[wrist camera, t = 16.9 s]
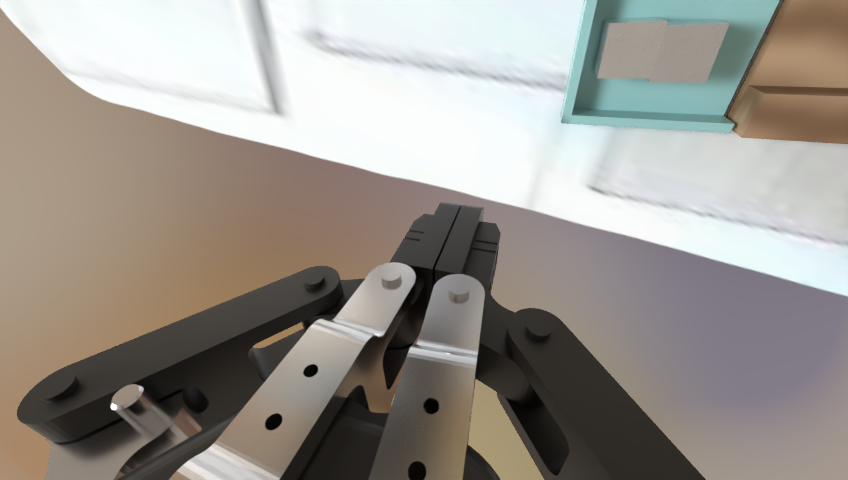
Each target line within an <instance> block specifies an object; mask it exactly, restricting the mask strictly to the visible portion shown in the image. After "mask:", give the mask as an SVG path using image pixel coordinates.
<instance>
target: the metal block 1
mask: <svg viewBox="0 0 848 480" xmlns="http://www.w3.org/2000/svg"><path fill="white" fill-rule="evenodd" d="M667 23H668V21H667V20H664V19H661V18H657V17H648V18H627V19H605V20H604V22H603V27H602V31H601V36H600V41H599V45H598V50H597V55H596V59H595V64H594V69H593V70H594V72H595V75H596V77H597V79H622V78H651V75H652V71H653V68H654V65H655V62H656V58H657V55H658V52H659V49H660V45H661V42H662V39H663V36H664V32H665V29H666V26H667Z"/></svg>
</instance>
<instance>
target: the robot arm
mask: <svg viewBox="0 0 848 480" xmlns="http://www.w3.org/2000/svg"><path fill="white" fill-rule="evenodd" d="M483 214H484V208H483V207H475V206H467V205H459V204H451V203H443V202H441V203H440V204H439V206H438V208H437V210H436V212H435V214H434V215H429V214H424V215H422V216H421V217H420V218H418V219H417V220H415V221H414V223H413V224H412V226H411V228H410V229H409V231H408V233H407V234H406V236H405V239H403V241H402V243H401V244H400V246H399V248H398V249H397V251H396V253H395V254H394V256H393V257H392V259H391V261H390V262H389V263H386V264H382V265H380V266H378V267H376V268H374V269H373V270H372V271H371V272H370V273H369V275H368V276H367V277H366V278H365V279H354V280H340V277H339V274H338V272H337V271H336V270H335V269H333V268H331V267H328V266H315V267H311V268H308V269H305V270H303V271H300V272H298V273H295V274H293V275H290V276H288V277H285V278H283V279H280V280H278V281H276V282H273V283H271V284H268V285H266V286H263V287H261V288H258V289H256V290H253V291H251V292H248V293H246V294H244V295H241V296H239V297H236V298H234V299H231V300H229V301H226V302H224V303H221V304H219V305H216V306H214V307H211V308H209V309H207V310H204V311H202V312H199V313H197V314H194V315H192V316H189V317H187V318H184V319H182V320H179V321H177V322H175V323H172V324H170V325H167V326H165V327H162V328H160V329H157V330H155V331H152V332H150V333H147V334H145V335H142V336H140V337H138V338H135V339H133V340H130V341H128V342H125V343H123V344H120V345H118V346H115V347H113V348H111V349H108V350H105V351H103V352H101V353H98V354H96V355H93V356H91V357H88V358H86V359H84V360H81V361H79V362H76V363H74V364H71V365H68V366H66V367H64V368H62V369H60V370H58V371H56V372H54V373H53V374H51V375H49V376H48V377H46V378H45V379H43V380H42V381H41V382H39V383H38V384H37V385H36V386H35V387H34V388H33V389H32V390H30V391H29V393H27V395H26V396H25V397H24V398H23V400H22V401H21V403H20V405H19V407H18V410H17V417H18V419H19V420H20V421H21V422H22V423H24V424H25V425H27V426H28V427H30V428H31V429H33V430H34V431H36V432H38V433H39V434H41V435H42V436H44V437H45V438H46V440H47V441H48V442H49V443H50V444H51V452H50V458H49V462H48V467H47V472H46V477H45V480H500V478H499V476H498V475H497V474H496V472H495V471H494V470H493V468H492V467H491V466H490V464H488V462H487V461H486V460H485V459H484V458H483V457H482V456H481V455H480V454H479V453H477V452H476V451H475V450H474V449H473V448H472V447H470V446H469V445H468V440H469V432H470V422H471V414H472V405H473V397H474V388H475V380H476V379H477V380H479V381H481V382H482V383H484V384H485V385H487V386H488V387H490V388H492V389H493V390H495V391H496V392H497V396H498V399H499V401H500V403H501V405H502V406H503V408H504V410H505V411H506V413H507V415H508V417H509V418H510V420H511V422H512V424H513V426H514V427H515V429H516V431H517V433H518V434H519V436H520V438H521V440H522V441H523V443H524V445H525V447H526V448H527V450H528V452H529V453H530V455H531V457H532V459H533V460H534V462H535V464H536V466H537V467H538V469H539V471H540V473H541V474H542V476H543V478H544V480H706V479H705V478H704V477H703V476H702V475H701V474H700V473H699V472H698V471H697V469H696V468H695V467H694V466H693V465H692V464H691V463H690V462H689V461H688V460H687V458H685V456H684V455H683V454H682V453H681V452H680V451H679V450H678V449H677V447H676V446H675V445H674V444H673V443H672V442H671V441H670V440H669V439H668V438H667V436H666V435H665V434H664V433H663V432H662V431H661V430H660V429H659V428H658V427H657V425H656V424H655V423H654V422H653V421H652V420H651V419H650V418H649V417H648V416H647V415H646V413H645V412H644V411H643V410H642V409H641V408H640V407H639V406H638V405H637V403H636V402H635V401H634V400H633V399H632V398H631V397H630V396H629V395H628V394H627V392H626V391H625V390H624V389H623V388H622V387H621V386H620V385H619V384H618V383H617V381H615V379H614V378H613V377H612V376H611V375H610V374H609V373H608V372H607V370H606V369H604V367H603V366H602V365H601V364H600V363H599V362H598V361H597V360H596V359H595V357H594V356H593V355H592V354H591V353H590V352H589V351H588V350H587V348H585V346H584V345H583V344H582V343H581V342H580V341H579V340H578V339H577V337H576V336H575V335H574V334H573V333H572V332H571V331H570V330H569V329H568V328H567V326H566V325H565V324H564V323H563V322H562V321H561V320H560V319H559V318H557V317H556V316H555V315H553V314H551V313H549V312H547V311H544V310H541V309H535V308H528V309H522V310H519V311H517V312H516V313H514V312H512V311H510V310H507V309H506V308H504V307H502V306H501V305H499V304H498V303H497V302H496V301H495V300H494V299H493V297H492V296H491V289H492V284H493V279H494V275H495V270H496V264H497V255H498V248H499V240H500V232H499V229H498V227H497V225H496V224H494V223H487V222H483ZM300 322H302V325H303V327H304V329H302V330H299V331H297V332H296V333H293V334H291V335H289V336H287V337H285V338H283V339H281V340H279V341H277V342H275V343H273V344H271V345H268V346H266V347H264V348H253V346H254V345H255V344H256V343H258V342H260V341H262V340H264V339H267V338H269V337H271V336H273V335H275V334H277V333H279V332H281V331H283V330H285V329H288V328H290V327H292V326H294V325H296V324H298V323H300ZM394 395H395V396H394ZM393 398H394V399H393ZM392 401H393V402H392ZM391 405H392V406H391Z"/></svg>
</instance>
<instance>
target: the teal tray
mask: <svg viewBox="0 0 848 480" xmlns="http://www.w3.org/2000/svg"><path fill="white" fill-rule="evenodd" d="M779 1H780V0H584V3H583V8H582V13H581V18H580V23H579V28H578V32H577V37H576V42H575V47H574V52H573V57H572V62H571V67H570V72H569V76H568V81H567V86H566V91H565V96H564V101H563V106H562V111H561V123H567V124H584V125H601V126H618V127H635V128H652V129H668V130H685V131H702V132H719V133H730V132H731V130H732V128H733V126H734V123H733V122H731V121H730V120H729V119H727V118H726V117H725V116H724V114H725V112H726V110H727V107H728V105H729V103H730V101H731V99H732V97H733V95H734V93H735V91H736V89H737V87H738V85H739V83H740V81H741V79H742V77H743V75H744V73H745V71H746V68H747V66H748V64H749V62H750V60H751V58H752V56H753V54H754V52H755V50H756V48H757V46H758V44H759V42H760V40H761V38H762V36H763V34H764V32H765V29H766V27H767V25H768V23H769V21H770V19H771V17H772V15H773V13H774V11H775V9H776V7H777V5H778V3H779ZM648 17H657V18H661V19H664V20H667V21H678V20H701V19H712V20H717V21H722V22H727V23H730V24H729V26H728V29H727V31H726V34H725V36H724V39H723V41H722V44H721V46H720V49H719V51H718V54H717V56H716V59H715V61H714V64H713V66H712V69H711V71H710V74H709V76H708V79H707V81H706V83H649V82H648V81H647V80H646V79H645V78H622V79H597V77H596V75H595V72H594V70H593V69H594V64H595V59H596V55H597V50H598V45H599V41H600V36H601V31H602V27H603V22H604V20H605V19H627V18H648Z"/></svg>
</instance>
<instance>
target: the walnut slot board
mask: <svg viewBox="0 0 848 480" xmlns="http://www.w3.org/2000/svg"><path fill="white" fill-rule="evenodd" d="M726 118H727V119H729V120H730V121H731V122H733V123H734V126H733V128H732V130H733V131H734V132H735V133H737V134H738V135H739V136H740V137H742V138H758V139H775V140H791V141H807V142H823V143H839V144H848V0H784V2H783V4H782V6H781V8H780V10H779V12H778V14H777V16H776V18H775V20H774V22H773V24H772V26H771V28H770V30H769V32H768V34H767V36H766V38H765V40H764V42H763V44H762V46H761V48H760V50H759V52H758V54H757V56H756V58H755V60H754V62H753V64H752V66H751V68H750V70H749V73H748V75H747V77H746V79H745V81H744V83H743V85H742V87H741V89H740V91H739V93H738V95H737V97H736V99H735V101H734V103H733V105H732V107H731V109H730V111H729V113H728V115H727V117H726Z"/></svg>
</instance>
